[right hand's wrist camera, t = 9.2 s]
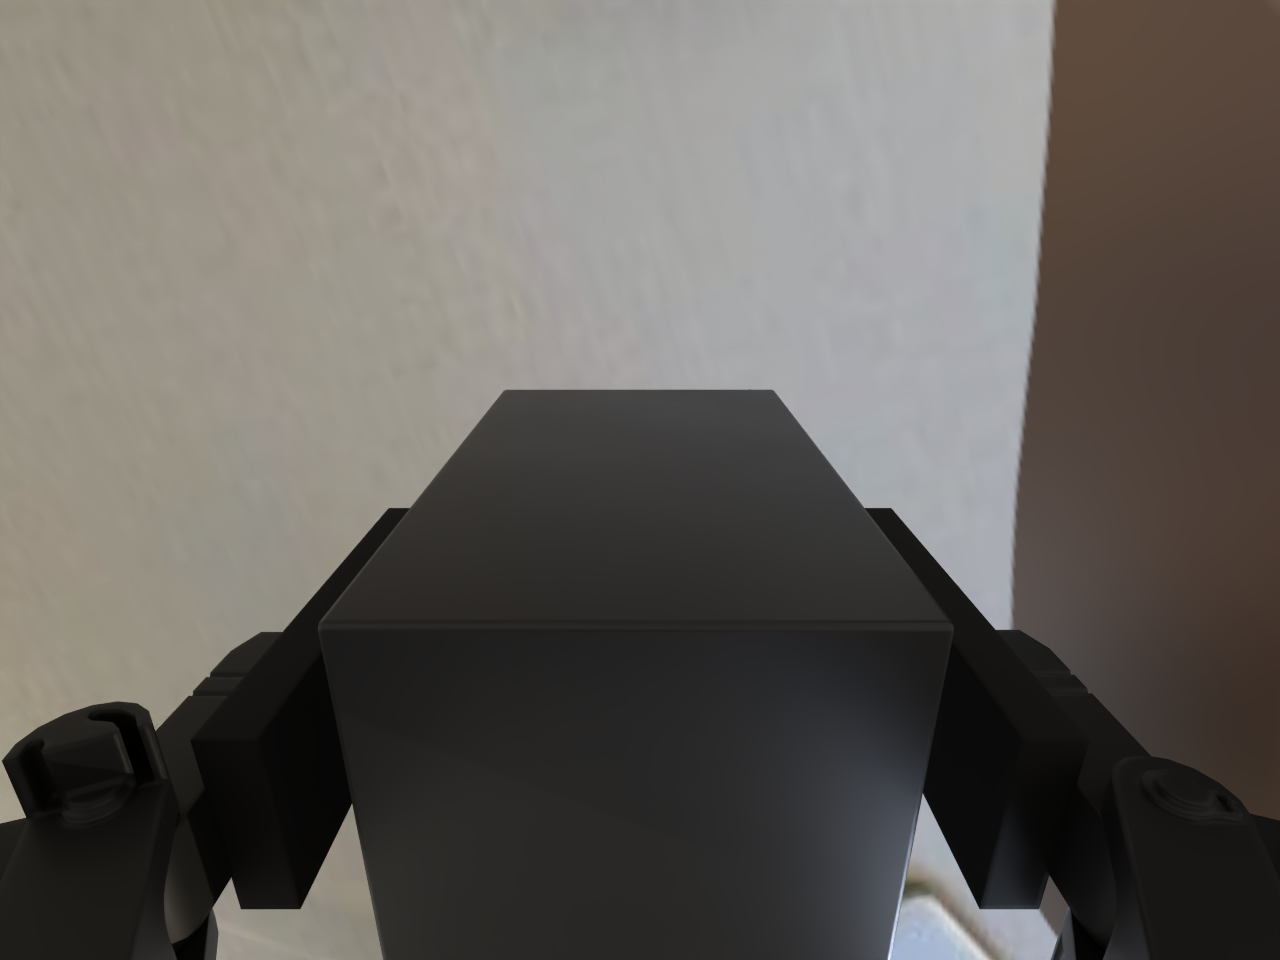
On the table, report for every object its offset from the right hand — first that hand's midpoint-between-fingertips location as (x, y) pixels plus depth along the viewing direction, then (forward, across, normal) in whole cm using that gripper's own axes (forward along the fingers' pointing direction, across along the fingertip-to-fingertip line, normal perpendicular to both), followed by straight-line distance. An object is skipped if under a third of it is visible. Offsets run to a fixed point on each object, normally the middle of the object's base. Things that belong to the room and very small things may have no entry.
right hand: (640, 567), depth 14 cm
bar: (+1, 0, -8) cm, 8 cm away
